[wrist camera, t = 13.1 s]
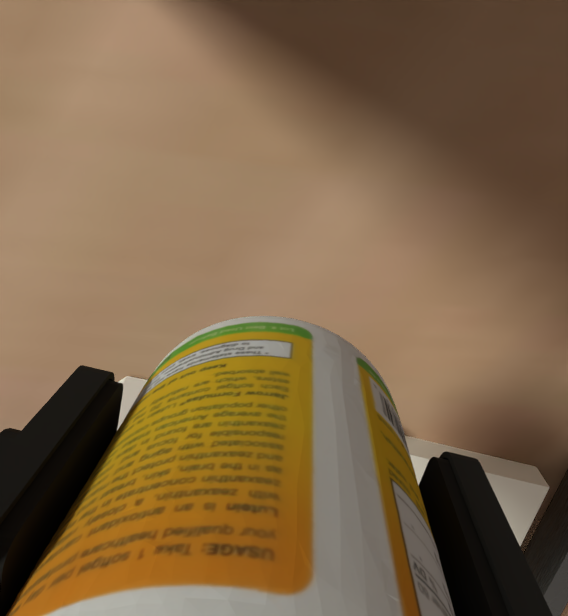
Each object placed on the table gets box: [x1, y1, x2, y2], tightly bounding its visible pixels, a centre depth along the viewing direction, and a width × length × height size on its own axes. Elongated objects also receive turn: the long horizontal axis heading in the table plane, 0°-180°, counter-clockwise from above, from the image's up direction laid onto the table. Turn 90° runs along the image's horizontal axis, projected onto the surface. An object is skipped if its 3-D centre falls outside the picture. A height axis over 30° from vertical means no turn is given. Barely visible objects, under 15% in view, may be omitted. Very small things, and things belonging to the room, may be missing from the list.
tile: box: [405, 436, 550, 546], centre depth 26 cm, size 7×7×2 cm
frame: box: [524, 471, 568, 616], centre depth 25 cm, size 11×12×2 cm
